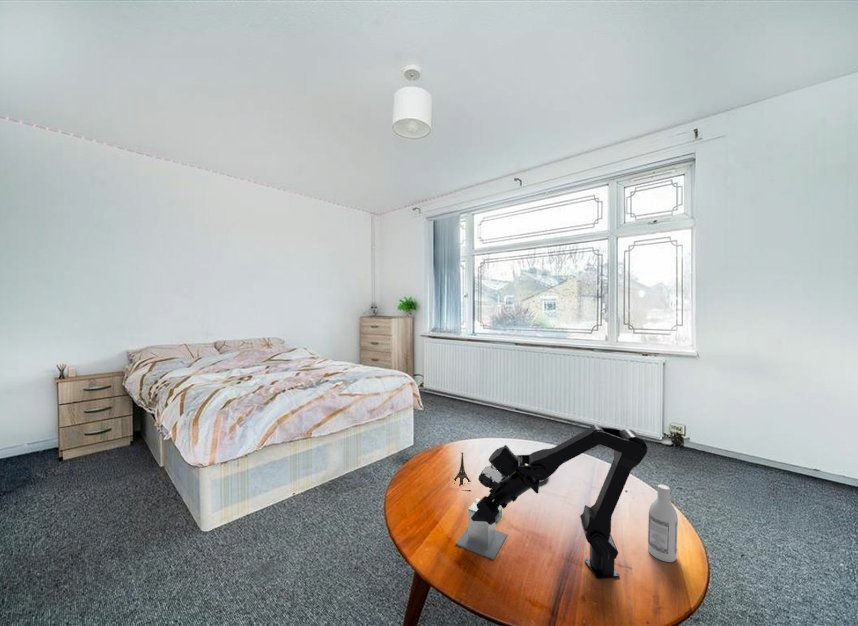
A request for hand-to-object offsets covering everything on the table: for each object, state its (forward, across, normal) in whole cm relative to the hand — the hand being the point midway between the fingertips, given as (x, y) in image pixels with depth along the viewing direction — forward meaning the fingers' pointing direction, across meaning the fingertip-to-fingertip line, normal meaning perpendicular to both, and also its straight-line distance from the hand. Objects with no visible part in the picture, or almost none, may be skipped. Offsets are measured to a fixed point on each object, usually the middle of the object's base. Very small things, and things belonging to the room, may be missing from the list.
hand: (478, 511), depth 107 cm
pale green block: (+6, -13, +7) cm, 16 cm away
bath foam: (-28, -22, +41) cm, 54 cm away
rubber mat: (+5, 0, +7) cm, 9 cm away
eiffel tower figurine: (+20, -29, -7) cm, 37 cm away
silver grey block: (+5, 0, +7) cm, 8 cm away
